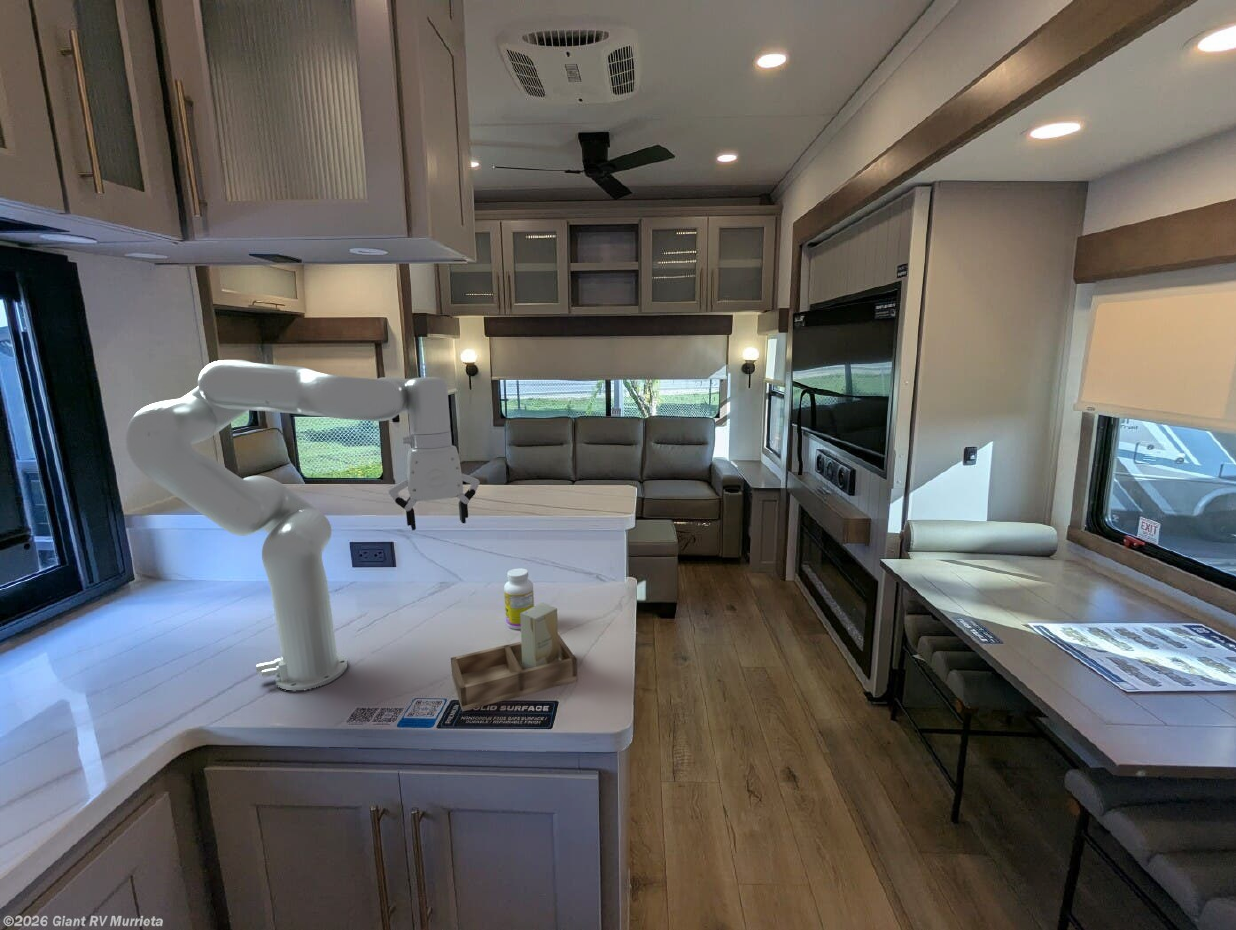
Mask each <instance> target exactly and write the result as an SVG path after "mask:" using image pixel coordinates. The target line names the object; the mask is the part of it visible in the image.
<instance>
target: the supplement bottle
mask: <svg viewBox="0 0 1236 930" xmlns="http://www.w3.org/2000/svg"><path fill="white" fill-rule="evenodd" d="M507 580H508V581H506V583H505V584H504V586H503V591H504V592H503V593H504V610H505V622H506V625H507V627H508V628H510V629H512V630H521V620H520V613H522V612H524V611H526V610H528V609H530V608H532V607H535V597H534V595H535V594H534V584H533V582H532V581H531V579H529V570H528V569H526V568H513V569H510V570H509V571H507Z"/></svg>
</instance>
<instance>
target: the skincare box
mask: <svg viewBox="0 0 1236 930" xmlns="http://www.w3.org/2000/svg"><path fill="white" fill-rule="evenodd" d="M520 620H521V629H520V639H521V640H520V642H521V645H522V670H525V669H529V668H533V667H537V666H541V665H545V664H549V663H553V662H557V661H559V652H558V634H559V628H558V627H559V626H558V625H559V624H558V608H557V607H555V606H553V605H550V604H548V603H544V602H542V603H539V604H538V605H534V607H532V608H530V609H528V610H526V611H524V612H522V613H520Z"/></svg>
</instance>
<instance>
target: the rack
mask: <svg viewBox="0 0 1236 930" xmlns="http://www.w3.org/2000/svg"><path fill="white" fill-rule="evenodd" d="M558 652H559V661H557V662H553V663H549V664H545V665H541V666H537V667H533V668H529V669H525V670H522V645H521V641H518V642H513V643H509V644H504V645H501V646H496V647H492V648H488V649H484V650H479V651H475V652H470V653H466V654H461V655H457V656H453V657H450V664H451V665H450V667H451V677H452V678H451V679H452V681H453V685H454V688H455V691H456V696H457V699H458V702H459V705H460V708H461V711H462V712H466V711H470V710H473V708H474V709H478V708H480V707H485V706H488V705H491V704H495V703H500V702H503V701H506V700H510V699H513V698H517V697H518V698H519V697H520V696H522V697H523V696H526V695H529V694H532V693H536V692H540V691H543V690H547V689H551V688H555V687H559V686H561V685H565V684H569V683H572V682H577V681H578V664H577V663H578V662H577V661H578V659H577V658H576V656H575V654H573V652H572V651H571V649H570V648H569V646H568V645H567V644H566V642H565V641H564V640H563V639H562V637H561V635H560V634H559V633H558Z"/></svg>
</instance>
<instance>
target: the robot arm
mask: <svg viewBox="0 0 1236 930" xmlns="http://www.w3.org/2000/svg"><path fill="white" fill-rule="evenodd" d="M197 377H198V379H197V387H195V388H194V389H192V390H191V391H189V392H188V393H187V394H185V395H183V396H182V397H179V398H175V399H167V400H161V401H158V402H154V403H150V404H149V405H146V406H144V407H142V408H140V410H138V411H137V412H135V414H134V415H133V416H132V417H131V419H130V420H129V422H128V424H127V428H126V433H125V446H126V450H127V452H128V455H129V458H130V459H131V461H132V463H133V464H134V466H135V467H136V468H137V469H138V470H139V471H140V472H141V473H142V474H143V475H144V476H146V477H147V478H148V479H149V480H151V481H152V482H154V483H155V484H157V485H159V486H160V487H161V488H163V489H164V490H166V491H167V492H169V493H170V494H172V495H174V496H175V497H177V498H178V499H180V500H181V501H183V502H184V503H186V504H187V505H188V506H189V507H191V508H192V509H194V510H196V512H198V513H200V514H201V515H203V516H205V517H206V519H209V520H211V521H212V522H213V523H215V524H217V525H218V527H220V528H222V529H223V530H225V531H227V532H229V533H230V534H233V535H236V536H239V537H240V536H242V537H244V536H250V535H253V534H256V533H257V532H259V531H261V530H263V531H264V532H266V533H268V535H267V536H266V538H265V539H264V542H263V544H262V549H261V558H262V559H261V560H262V564H263V567H264V570H265V573H266V574H265V575H266V577H267V579H268V584H269V589H270V592H271V600H272V605H273V609H274V617H275V622H276V629H277V635H278V643H279V649H280V657H277V658H275V659H274V660H272V661H264V662H258V663H257V664H256V674H258V675H259V674H261V675H262V676H261V677H262V678H267V677H271V676H274V675H275V677H274V679H275V684H276V686H277V685H278V686H277V688H279V687H280V688H283V689H286V690H304V689H306V690H304V691H308V690H307V689H309V690H312V689H311V688H314V689H317V688H319V687H318V686H320V687H322V685H323V686H324V685H327V684H329V683H331V682H333V681H335V680H336V679H338V678H340V676H342V675H343V673H345V671H346V670H347V668H348V660H347V657H346V656H345V655H343V654H342V653H340V652H339V653H338V651H337V650H338V649H337V644H336V643H337V642H336V636H335V627H334V620H333V612H332V605H331V597H330V590H329V583H328V579H327V574H326V570H325V567H324V563H323V552H324V550H325V548H326V547H327V546H328V545H329V544H328V543H329V542H330V540H331V538H332V537H331V536H332V526H331V523H330V521H329V519H328V518H327V516H326V515H325V514H323V512H321V511H320V510H319V509H318V508H316V507H315V506H313V505H312V504H310V503H309V502H308V501H306V500H305V499H304V498H302V497H301V496H300V495H298V494H297V493H296V492H295V491H292V490H291V489H290V488H289V487H287V486H285V484H283V483H282V482H280V481H278V480H276V479H274V478H271V477H268V476H264V475H251V476H247V477H244V478H242V477H240V476H238V475H237V474H235V473H234V472H233V471H231V470H230V469H228V468H227V467H225V466H224V465H223V464H222V463H220V462H218V461H217V460H215V459H213V458H211V457H210V456H207V455H205V454H203V453H201V452H200V451H198V450H196V449H195V448H194V447H193V446H192V445H195V444H199V443H201V442H204V441H206V440H208V439H209V438H211V437H213V436H215V435H217V434H218V433H219V432H220V431H222V430H224V429H225V428H226V427H227V426H228V425H230V424H231V423H232V422H234V421H235V420H236V419H239V417H242V415H244V414H246V412H248V411H255V412H256V411H258V412H271V413H272V412H273V413H281V414H282V413H285V414H294V415H295V414H298V415H305V416H312V417H322V418H332V419H341V420H352V421H354V420H355V421H368V422H370V421H371V422H384V421H385V422H387V421H390V420H391V419H394V418H395V417H397V416H399V415H401V414H408V423H409V435H407V436H405V437H404V436H403V437H402V442H403V443H402V444H403V445H407V446H408V445H409V446H410V447H411V448H409V449H408V452H407V457H406V458H407V459H406V460H407V463H406V464H407V465H406V477H407V478H405V479H403V480H402V481H400V482H398V483H396V484H395V485H393V486H392V487H390V488H389V489H388V494H389V496H390V497H391V498H392V499H393V500H394V502H395V504H397V505H398V506H399V507H401V508H402V509H404V510H405V515H406V525H407V526H410V528H411V531H415V530H417V527H416V525H417V524H416V515H415V509H414V506H415V505H416V503H417V502H428V501H437V500H438V501H439V500H445V499H446V500H447V499H453V498H458V499H459V502H458V510H459V511H458V512H459V513H458V514H459V521H460V522H461V523H462V524H466V523H467V518H468V519H469V507H468V506H469V505H468V504H469V502H470V501H471V500H472V498H473V497H474V496H475V494H476V493H477V490H478V488H479V485H480V483H481V481H480V480H479V479H478V478H475V477H473V476H470V475H467V474H465V473H462V468H461V461H460V456H459V453H458V449H457V446H455V445H453V443H452V431H451V417H450V408H449V407H450V406H449V403H450V402H449V395H448V394H449V393H448V392H449V391H448V384H447V381H446V380H445V379H444V378H442V377H437V376H436V377H435V376H431V377H430V376H427V377H425V376H424V377H413V378H402V377H401V378H399V377H391V376H390V377H389V376H387V377H386V376H384V377H379V378H366V377H353V376H343V375H342V376H341V375H336V374H328V373H324V372H319V371H317V370H314V369H311V368H308V367H304V366H295V365H294V366H293V365H284V364H283V365H281V364H280V365H279V364H268V363H262V362H261V363H259V362H251V361H249V360H245V359H224V360H223V359H222V360H217V361H216V360H215V361H213V362H211V363H209V364H207V365H205V366H204V368H202V370H201V371H200V373H199V375H198V376H197ZM463 482H465V483H467V484H470V485H469V488H468V490H467V491H466V492H465V493H464V483H463ZM405 488H407V490H408V494H409V495H408V496H409V497H407V499H406V500H405V499H404V498H402V497H401V496H400V494H399V492H401V491H403V490H404V489H405ZM316 687H317V688H316ZM280 688H279V689H280ZM286 690H285V691H286Z"/></svg>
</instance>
